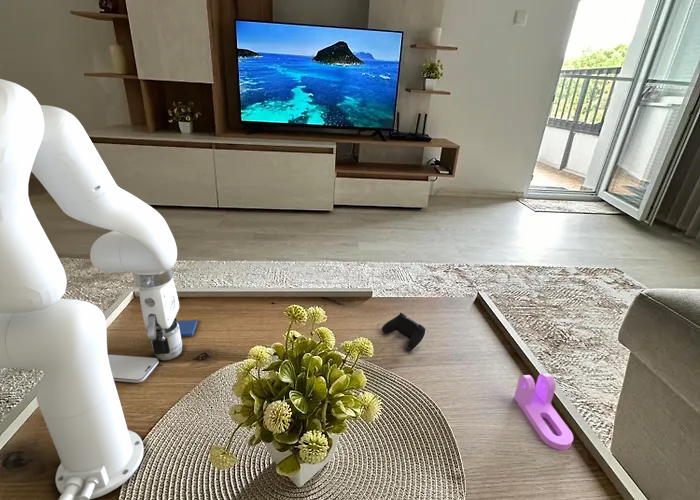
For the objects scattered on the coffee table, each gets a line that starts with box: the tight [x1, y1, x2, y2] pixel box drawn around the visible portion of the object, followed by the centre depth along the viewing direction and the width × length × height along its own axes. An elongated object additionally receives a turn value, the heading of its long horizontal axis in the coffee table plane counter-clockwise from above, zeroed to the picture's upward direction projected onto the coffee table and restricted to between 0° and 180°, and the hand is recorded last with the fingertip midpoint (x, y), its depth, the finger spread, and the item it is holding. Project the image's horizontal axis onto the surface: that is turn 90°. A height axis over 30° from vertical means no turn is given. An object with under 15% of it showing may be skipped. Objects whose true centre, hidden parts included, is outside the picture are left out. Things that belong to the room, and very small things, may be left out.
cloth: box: [177, 319, 198, 338], centre depth 101 cm, size 6×6×1 cm
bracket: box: [513, 373, 574, 451], centre depth 76 cm, size 13×6×7 cm, turn 7°
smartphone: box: [108, 353, 160, 384], centre depth 87 cm, size 7×1×15 cm
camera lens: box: [150, 321, 183, 361], centre depth 92 cm, size 6×6×8 cm
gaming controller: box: [381, 312, 427, 352], centre depth 100 cm, size 11×4×7 cm
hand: (167, 342), depth 92 cm, fingers open, 6 cm apart
